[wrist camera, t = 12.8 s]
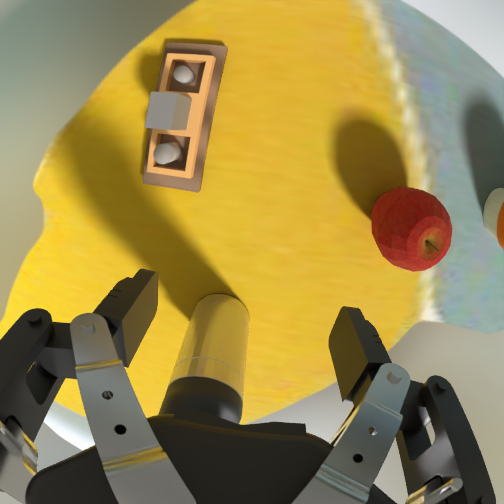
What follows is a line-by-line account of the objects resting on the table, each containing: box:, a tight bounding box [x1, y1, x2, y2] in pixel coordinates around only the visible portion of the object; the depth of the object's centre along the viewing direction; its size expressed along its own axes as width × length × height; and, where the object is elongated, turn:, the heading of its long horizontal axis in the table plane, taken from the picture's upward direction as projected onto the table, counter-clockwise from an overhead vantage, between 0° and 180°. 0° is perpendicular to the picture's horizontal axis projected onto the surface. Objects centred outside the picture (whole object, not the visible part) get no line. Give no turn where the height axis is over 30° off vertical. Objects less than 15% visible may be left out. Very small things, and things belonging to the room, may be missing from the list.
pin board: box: [143, 43, 228, 192], centre depth 30 cm, size 20×8×6 cm, turn 169°
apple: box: [371, 187, 452, 271], centre depth 31 cm, size 10×10×14 cm
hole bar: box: [145, 53, 216, 179], centre depth 28 cm, size 16×6×8 cm, turn 169°
